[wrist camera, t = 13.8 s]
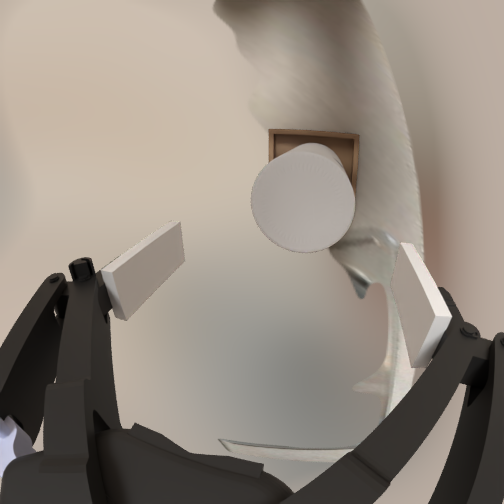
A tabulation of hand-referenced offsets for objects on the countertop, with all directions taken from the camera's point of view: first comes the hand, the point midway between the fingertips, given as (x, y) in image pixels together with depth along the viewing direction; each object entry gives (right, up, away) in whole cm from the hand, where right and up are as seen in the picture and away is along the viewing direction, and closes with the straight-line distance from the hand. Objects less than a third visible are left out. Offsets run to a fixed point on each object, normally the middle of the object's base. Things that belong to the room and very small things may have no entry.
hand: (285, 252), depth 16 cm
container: (+8, +13, +27) cm, 31 cm away
